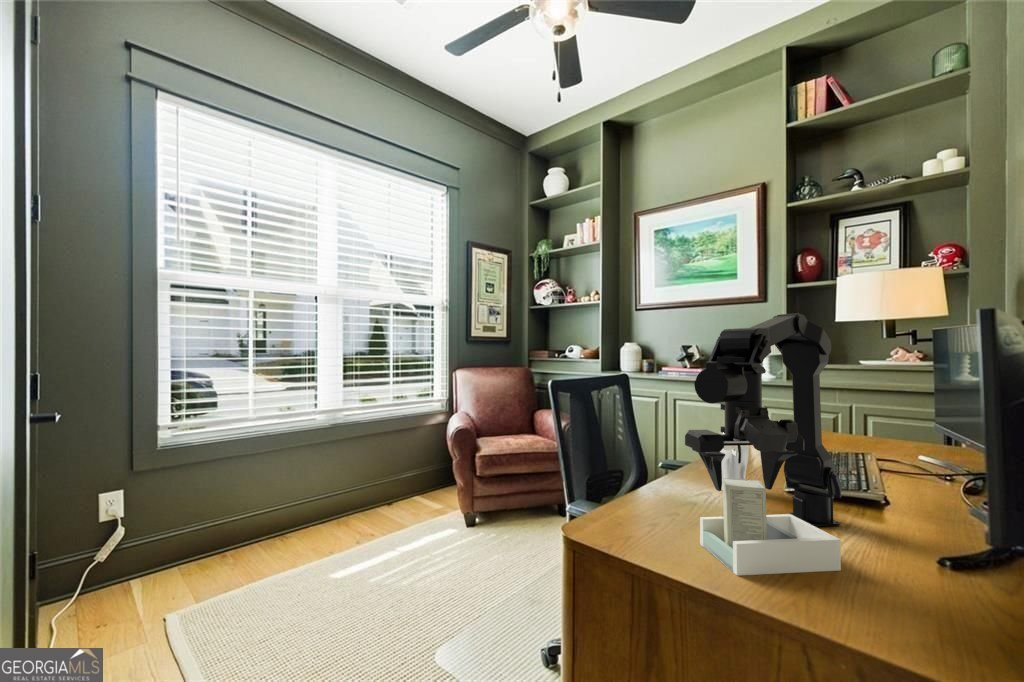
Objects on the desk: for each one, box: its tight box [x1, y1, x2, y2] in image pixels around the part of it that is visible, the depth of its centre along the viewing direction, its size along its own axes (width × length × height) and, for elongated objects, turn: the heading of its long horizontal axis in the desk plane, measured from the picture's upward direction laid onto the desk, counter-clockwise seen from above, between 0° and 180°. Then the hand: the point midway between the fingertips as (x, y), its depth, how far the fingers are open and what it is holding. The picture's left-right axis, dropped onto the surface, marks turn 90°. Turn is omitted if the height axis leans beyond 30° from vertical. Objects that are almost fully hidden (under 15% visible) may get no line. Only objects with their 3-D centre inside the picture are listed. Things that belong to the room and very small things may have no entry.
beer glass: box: [718, 429, 750, 491], centre depth 110 cm, size 7×7×15 cm
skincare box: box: [722, 478, 767, 549], centre depth 74 cm, size 6×4×12 cm
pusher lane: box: [699, 513, 842, 576], centre depth 75 cm, size 18×11×5 cm, turn 96°
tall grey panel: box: [767, 521, 797, 540], centre depth 75 cm, size 1×8×4 cm, turn 6°
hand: (743, 489), depth 74 cm, fingers open, 9 cm apart
